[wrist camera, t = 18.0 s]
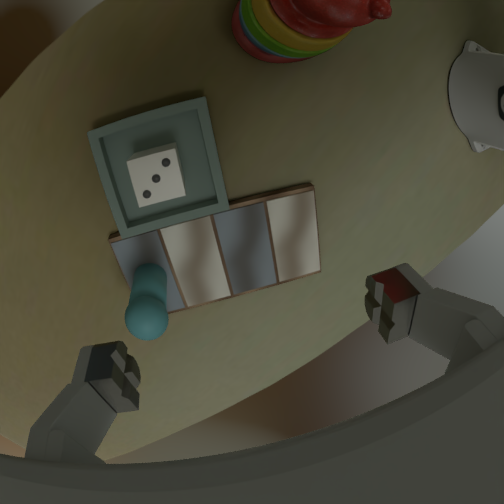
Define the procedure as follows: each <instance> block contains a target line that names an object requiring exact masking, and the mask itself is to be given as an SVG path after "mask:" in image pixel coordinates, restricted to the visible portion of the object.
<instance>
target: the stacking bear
mask: <svg viewBox="0 0 504 504" xmlns="http://www.w3.org/2000/svg"><path fill="white" fill-rule="evenodd" d="M389 3H390V0H239V2H238V3H237V5H236V8H235V10H234V13H233V16H232V31H233V34H234V37H235V39H236V40H237V42H238V43H239V45H240V46H241V47H242V48H243V49H244V50H245V51H246V52H247V53H249V54H250V55H251V56H253V57H255V58H257V59H259V60H262V61H266V62H271V63H290V62H297V61H302V60H305V59H308V58H311V57H314V56H316V55H319V54H321V53H323V52H326V51H327V50H329V49H331V48H332V47H334V46H335V45H337V44H338V43H339V42H340V41H342V40H343V39H344V38H345V37H346V36H347V35H348V34H349V33H350V32H351V30H352V29H353V27H357V26H362V25H365V24H368V23H370V22H372V21H374V20H375V19H387V18H389V17H390V16H391V13H392V9H391V6H390V4H389Z"/></svg>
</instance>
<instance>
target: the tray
mask: <svg viewBox="0 0 504 504" xmlns="http://www.w3.org/2000/svg"><path fill="white" fill-rule="evenodd" d="M87 135H88V139H89V142H90V146H91V149H92V153H93V156H94V159H95V163H96V166H97V169H98V172H99V176H100V179H101V182H102V185H103V188H104V191H105V194H106V197H107V200H108V203H109V205H110V208H111V211H112V214H113V217H114V219H115V222H116V225H117V227H118V230H119V233H120V235H121V238H122V239H125V238H129V237H132V236H135V235H139V234H142V233H146V232H149V231H153V230H156V229H160V228H163V227H167V226H170V225H174V224H178V223H181V222H185V221H189V220H192V219H196V218H200V217H204V216H207V215H211V214H215V213H219V212H223V211H227V210H230V208H229V203H228V199H227V194H226V190H225V185H224V181H223V176H222V171H221V167H220V162H219V158H218V153H217V148H216V144H215V139H214V135H213V130H212V125H211V120H210V116H209V111H208V106H207V102H206V97H201V98H196V99H192V100H188V101H184V102H180V103H176V104H172V105H169V106H165V107H161V108H158V109H154V110H151V111H148V112H144V113H141V114H138V115H135V116H131V117H128V118H125V119H122V120H119V121H116V122H114V123H111V124H108V125H105V126H102V127H100V128H97V129H94V130H92V131H89V132H87ZM174 142H176V144H177V149H178V153H179V158H180V162H181V166H182V171H183V175H184V179H185V187H186V196H182V197H178V198H174V199H170V200H166V201H162V202H158V203H155V204H151V205H147V206H143V207H140V208H139V205H138V202H137V198H136V195H135V191H134V188H133V184H132V181H131V177H130V174H129V170H128V166H127V162H126V161H127V160H128V159H129V158H130V157H131V156H132V155H133V154H134V153H136V152H140V151H143V150H147V149H151V148H154V147H158V146H162V145H166V144H170V143H174Z"/></svg>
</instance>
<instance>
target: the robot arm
mask: <svg viewBox="0 0 504 504" xmlns="http://www.w3.org/2000/svg"><path fill="white" fill-rule="evenodd" d="M449 99H450V105H451V110H452V113H453V116H454V119H455V121H456V123H457V125H458V127H459V128H460V130H461V131H462V132H463V133H464V134H465V135H466V137H467V138H468V140H469V143H470V145H471V148H472V150H473V151H474V152H478V153H479V152H482V151H484V150H486V149H488V148H490V147H492V148H496V149H499V150H502V151H504V54H500V53H492V52H490V51H488V50H487V49H485V48H483V47H482V46H480V45H479V44H477V43H475V42H474V41H469V40H468V41H466V43H465V46H464V49H463V52H462V54H461V55H460V56H459V57H458V58H457V59H456V60H455V62H454V64H453V66H452V69H451V72H450V77H449ZM365 286H366V288H367V289H368V290H369V291H368V292H367V294H366V295H365V308H366V312H367V314H368V317H369V318H370V320H371V321H372V322H373V323H375V324H378V325H379V329H378V332H379V333H380V334H381V336H382V337H383V339H384V340H385V342H386V343H387V344H390V343H393V342H395V341H398V340H400V339H402V338H405V337H408V336H409V338H411V339H413V340H414V341H416V342H418V343H420V344H422V345H424V346H425V347H427V348H429V349H431V350H433V351H435V352H436V353H438V354H440V355H442V356H444V357H446V358H447V359H449V360H450V362H449V364H448V367H447V369H446V372H445V374H444V375H443V376H441V377H439V378H437V379H435V380H434V381H432V382H430V383H428V384H426V385H424V386H422V387H420V388H418V389H416V390H414V391H412V392H410V393H408V394H406V395H404V396H402V397H400V398H398V399H395V400H393V401H391V402H389V403H387V404H384V405H382V406H380V407H377V408H375V409H373V410H371V411H368V412H366V413H363V414H361V415H358V416H355V417H353V418H350V419H347V420H345V421H342V422H339V423H337V424H334V425H331V426H328V427H325V428H322V429H319V430H316V431H313V432H309V433H306V434H303V435H299V436H296V437H293V438H289V439H286V440H282V441H278V442H274V443H270V444H266V445H262V446H258V447H253V448H249V449H244V450H240V451H234V452H229V453H223V454H218V455H212V456H206V457H199V458H191V459H183V460H174V461H164V462H151V463H133V464H106V463H105V462H104V461H103V460H101V459H100V458H99V457H97V456H96V455H94V454H95V452H96V451H97V449H98V447H99V445H100V443H101V442H102V440H103V438H104V436H105V435H106V433H107V431H108V429H109V428H110V426H111V424H112V422H113V421H114V419H115V417H116V416H117V413H121V412H128V411H135V410H139V395H140V394H139V392H138V391H137V390H136V388H137V387H138V385H139V384H140V379H141V375H140V370H139V366H138V364H137V362H136V360H135V359H134V357H133V356H131V355H129V354H127V349H128V348H127V347H126V345H125V344H124V342H123V341H115V342H108V343H102V344H96V345H92V346H85V347H83V348H81V349H80V353H79V356H78V360H77V363H76V367H75V371H74V375H73V379H72V383H71V384H67V386H66V387H65V388H64V389H63V390H62V391H61V393H60V394H59V395H58V396H57V397H56V398H55V399H54V401H53V402H52V403H51V404H50V405H49V407H48V408H47V409H46V410H45V411H44V412H43V414H42V415H41V416H40V417H39V418H38V420H37V421H36V422H35V423H34V424H33V426H32V427H31V429H30V433H29V438H28V443H27V448H26V453H25V458H22V457H15V456H10V455H5V454H0V504H504V317H503V316H502V315H501V314H500V313H499V312H498V311H497V310H496V309H495V308H494V307H493V306H491V305H488V304H485V303H482V302H479V301H476V300H473V299H470V298H467V297H464V296H461V295H458V294H455V293H452V292H449V291H446V290H443V289H439V288H435V289H433V288H432V287H431V286H430V285H429V284H428V283H427V282H426V281H425V280H424V279H423V278H422V277H421V276H420V275H419V274H418V273H417V272H416V271H415V270H414V269H413V268H412V267H411V266H410V265H409V264H407V263H403V264H400V265H397V266H395V267H393V268H390V269H387V270H384V271H381V272H378V273H375V274H372V275H369V276H367V278H366V284H365Z"/></svg>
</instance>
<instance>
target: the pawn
mask: <svg viewBox="0 0 504 504" xmlns="http://www.w3.org/2000/svg"><path fill="white" fill-rule="evenodd" d="M125 323H126V326H127V328H128V330H129V331H130V333H131V334H132V335H134V336H135V337H137V338H139V339H141V340H153V339H156V338H158V337H160V336H161V335H162V334H163V333H164V332H165V330H166V328H167V325H168V313H167V274H166V272H165V270H164V269H163V268H162V267H161V266H159V265H157V264H154V263H146V264H142V265H141V266H139V267H138V268H137V269H136V271H135V274H134V278H133V283H132V289H131V294H130V299H129V305H128V307H127V309H126V312H125Z"/></svg>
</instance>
